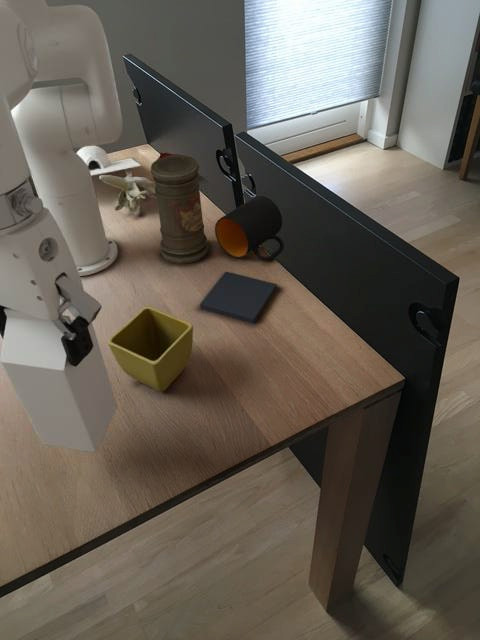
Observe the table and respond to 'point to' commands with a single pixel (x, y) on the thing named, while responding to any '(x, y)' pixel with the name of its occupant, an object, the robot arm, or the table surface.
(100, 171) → the igloo
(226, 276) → the slate mat
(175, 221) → the container
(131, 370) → the flower pot
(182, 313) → the table surface
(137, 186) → the pale green plant
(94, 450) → the milk carton
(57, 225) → the robot arm
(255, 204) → the mug
